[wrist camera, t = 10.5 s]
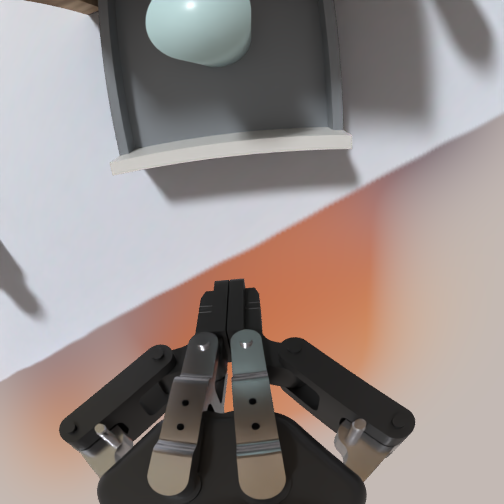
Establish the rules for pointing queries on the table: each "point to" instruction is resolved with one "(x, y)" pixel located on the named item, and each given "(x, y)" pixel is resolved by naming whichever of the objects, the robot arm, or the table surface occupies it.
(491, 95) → the table surface
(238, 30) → the pale green rounded part
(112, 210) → the table surface
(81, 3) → the open wooden cubby
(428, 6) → the table surface
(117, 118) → the drawer
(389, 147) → the table surface
